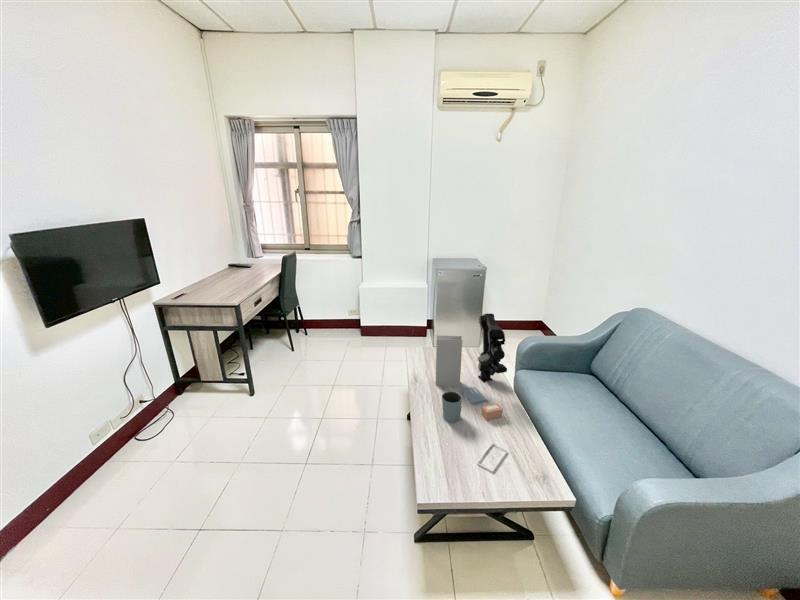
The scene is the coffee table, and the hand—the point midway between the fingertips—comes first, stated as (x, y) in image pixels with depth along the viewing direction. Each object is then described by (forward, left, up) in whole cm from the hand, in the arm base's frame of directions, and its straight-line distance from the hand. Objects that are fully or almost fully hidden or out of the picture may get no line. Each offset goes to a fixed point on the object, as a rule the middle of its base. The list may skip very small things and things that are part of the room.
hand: (491, 375), depth 184 cm
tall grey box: (-17, -19, -12) cm, 28 cm away
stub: (+18, -10, -12) cm, 23 cm away
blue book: (-1, -10, -12) cm, 15 cm away
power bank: (+43, -24, -12) cm, 51 cm away
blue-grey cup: (+12, -30, -12) cm, 35 cm away
